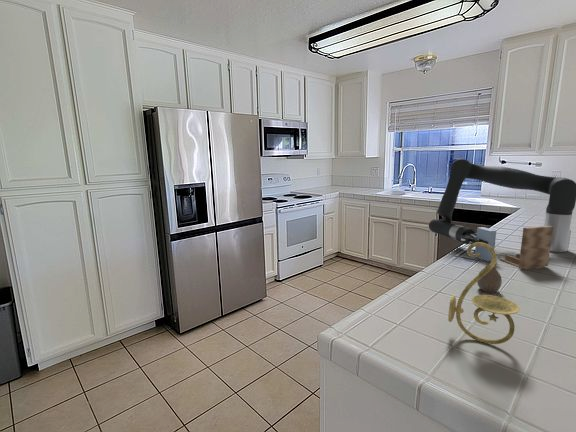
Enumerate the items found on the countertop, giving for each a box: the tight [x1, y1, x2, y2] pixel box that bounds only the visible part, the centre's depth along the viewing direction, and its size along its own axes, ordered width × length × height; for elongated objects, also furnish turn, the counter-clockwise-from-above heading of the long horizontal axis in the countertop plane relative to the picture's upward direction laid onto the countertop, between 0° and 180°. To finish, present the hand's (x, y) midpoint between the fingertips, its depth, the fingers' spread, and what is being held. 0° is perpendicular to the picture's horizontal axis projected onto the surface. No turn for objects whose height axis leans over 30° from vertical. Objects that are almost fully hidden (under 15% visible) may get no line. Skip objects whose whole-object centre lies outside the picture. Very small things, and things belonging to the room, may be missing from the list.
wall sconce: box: [447, 242, 520, 345], centre depth 76 cm, size 14×10×25 cm
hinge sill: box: [499, 225, 553, 270], centre depth 130 cm, size 12×12×17 cm
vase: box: [476, 264, 503, 294], centre depth 106 cm, size 7×7×9 cm
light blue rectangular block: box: [474, 226, 497, 262], centre depth 138 cm, size 3×7×13 cm, turn 11°
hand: (490, 243), depth 135 cm, fingers closed on light blue rectangular block, 3 cm apart
